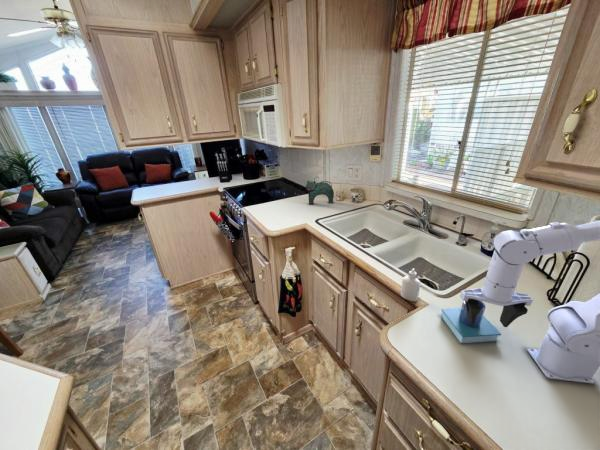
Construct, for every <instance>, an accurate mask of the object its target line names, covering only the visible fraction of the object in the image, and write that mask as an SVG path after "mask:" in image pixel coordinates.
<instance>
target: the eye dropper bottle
mask: <svg viewBox="0 0 600 450" xmlns="http://www.w3.org/2000/svg"><path fill="white" fill-rule="evenodd" d="M417 275H418V274H417V271H415V268H412V269H411V270H409V271H408V275H405V276H403V277H402V281H401V287H400V297H401V298H403V299H404V300H407V301H410V302H418V299H419V295H420V289H421V281H420V280H419V278H417Z"/></svg>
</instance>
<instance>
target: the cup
mask: <svg viewBox="0 0 600 450" xmlns="http://www.w3.org/2000/svg"><path fill="white" fill-rule="evenodd" d="M478 303H479V306H480V308H481V309H482V310H481V311H480V312H479V313H478V315H477V317H476V320H475V323H474V324H470V323H469V321H468V319H467V308H466V304H465V301H463V300H462V304H461V307H460V308H461V311H460V315H459V320H460V321H461V322H462V323H463V324H465V325H466V326H469V327H478V326H479V325H480V323H481V320H482V317H483V315H484V313H485V311H486V304H485V302H483V301H478Z"/></svg>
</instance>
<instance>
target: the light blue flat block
mask: <svg viewBox="0 0 600 450" xmlns="http://www.w3.org/2000/svg"><path fill="white" fill-rule="evenodd" d="M460 311H461V307H450V308H449V307H448V308H441V318H442V319H443V321H444V322H445V323H446V325H447V326H448V328H449V329H450V331H451V332H452V333H453V335H454V336H455V337H456V338H457V340H458V342H459V343H460V344H469V343H471V344H472V343H483V342H484V343H485V342H496V341H497V340H498V338H499V336H502V333H501V332H500V331H499V330H498V329H497V328H496V326H494V324H492V323H491V322H490V320H488V318H487V317H485V315H484V314H483V317H482V320H481V323H480V325H479V326H478V327H469V326H466V325H465V324H463V323H462V322H461V321H460V320H459V315H460Z"/></svg>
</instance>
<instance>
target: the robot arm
mask: <svg viewBox="0 0 600 450" xmlns="http://www.w3.org/2000/svg"><path fill="white" fill-rule="evenodd" d="M598 241H600V219H599V220H595V221H591V222H590V221H589V222H586V223H582V224H578V225H573V224H570V223H567V222H561V223H560V222H559V221H555V222H550V223H549V225H545V226H541V227H535V228H531V229H527V228H524V229H520V231H517V230H504V231H501V232H499V233H498V234H497V235H496V236H495V237H492V238H491V245H492V247H493V248H494V250H493V254H492V257H491V259H490V262H489V266H488V269H487V272H486V276H485V279H484V282H483V285H482V287H478V288H477V287H476V288H472V289H461V291H460V295H459V296H460V299H461V300H462V302H463V301H465V304H466V308H467V319H468V321H469V323H470V324H474V323H475V320H476V317H477V315H478V313H479V312H480V311H481V310H482V309H481V308H480V306H479V303H478V301H482V302H483V303H488V304H491V305H494V306H499V307H502V310H501V313H500V317H499V322H500V323H501V325H502V327H504V328H508V327H509V326H510V325H511V324H512V323H513V322H514V321H515V320H516V319H518V318H519V317H522V316H524V315H527V313H528V311H529V309H528V308H527V307H529V306H530V307H531V305H532V304H533V301H534V299H533V298H532V297H531V296H530V295H529V294H528V293H521V292H516V287H517V285H518V283H519V279H520V276H521V274H522V272H523V269H524V266H525V265H526V264H529V263H530V262H532V261H533V260H534V259H536V258H539V257H541V256H545V255H552V254H558V253H559V254H560V253H564V252H571V251H576V250H578V249H579V248H580V246H582V245H583V244H584V243H589V242H598ZM546 318H547V320H548V321H549V325H548V329H547V332H546V334H545V336H544V338H543V339H542V342H541V344H540V346H539V348H538V349H537V348H536V349H535V348H527V352H528V354H529V355H530V357H531V358H532V359H533V360H534V362H535V364H536V365H537V366H538V368H539V369H540V370H541V372H542V373H543V374H544V376H545V377H546V378H547V379H551V380H560V381H567V382H568V381H570V382H576V383H585V384H595V380H594V379H593V377H594V376H595V374H596V372H597V371H598V370H599V368H600V293H597V295H595V296H593V297H591V298H590V299H588V300H587V301H585V302H584V301H577V300H569V302H567V303H565V304H562V305H558V306H554V307H553V308H551V309H549V310H548V312H547V314H546Z"/></svg>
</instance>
